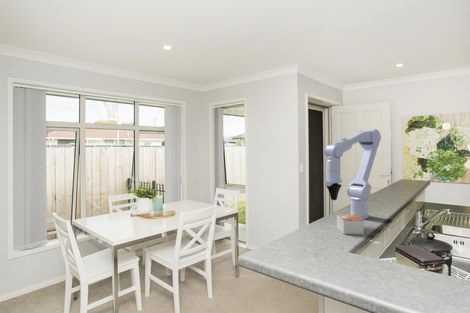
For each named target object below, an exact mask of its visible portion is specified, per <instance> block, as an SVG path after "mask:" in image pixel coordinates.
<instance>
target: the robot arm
mask: <svg viewBox="0 0 470 313" xmlns="http://www.w3.org/2000/svg"><path fill="white" fill-rule="evenodd" d="M381 135H382V134H381V132H380V131H379V130H378V129H366V130H365V129H364V130H361V129H360V130H358V131H356V133H355V134H353V135H352V136H350V137H349V138H346V137H341V138H340V140H339V141H335V142H333V144H329V145H327V146H326V147H325V150H323V151H324V156H325V157H326V161H327V164H326V166H327V171H326V173H327V177H326V178H327V179H324V182H325V187H326V188H327V189H328V193H329V196H330V200H332V201H336V200H337V199H338V196H339V193H340V192H339V191H340V189H341V188H342V183H343V180H342V178H341V158H342V157H343V155H344V153H345V152H348V151H349V150H351V149H352V146H353V145H355V144H357V143H358V144H359V145H360V147H361V148H362V149H364V152H363V155H362V159H361V161H360V165H359V167H358V171H357V175H356V178H355V179H353V180H352V181H350V183H349V185H348V187H347V189H346V194H347V196H348V197H349V199H350V215H356V216H358V217H359V218H360V219H361V220H363V221H364V220H366V219H369V217H371V214H369V202H368V201H369V198H370V197H371V193H372V192H371V190H372V185H371V184H370V183H369V177H370V175H371V172H372V168H373V166H374V161H375V159H376V155H377V152H378V148H379V146H380V142H381V139H382V136H381Z"/></svg>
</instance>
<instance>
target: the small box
mask: <svg viewBox="0 0 470 313" xmlns="http://www.w3.org/2000/svg"><path fill="white" fill-rule="evenodd" d="M336 222H337V223H336V226H337V228H338V230H339V231H340V232H341V233H342V234H343V235H362V236H364V230H365V227H364V224H365V222H364V220H363V219H360V218H359V217H358V216H356V215H351V214H337V215H336Z"/></svg>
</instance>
